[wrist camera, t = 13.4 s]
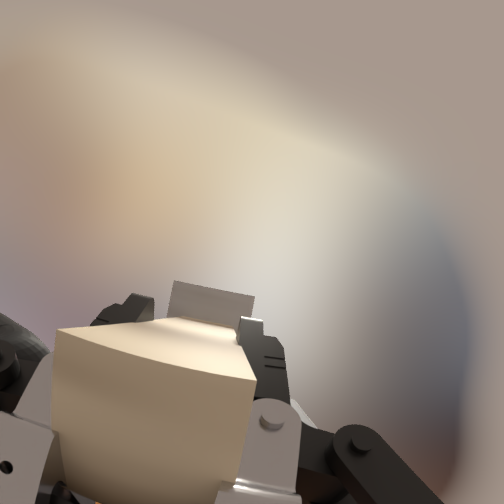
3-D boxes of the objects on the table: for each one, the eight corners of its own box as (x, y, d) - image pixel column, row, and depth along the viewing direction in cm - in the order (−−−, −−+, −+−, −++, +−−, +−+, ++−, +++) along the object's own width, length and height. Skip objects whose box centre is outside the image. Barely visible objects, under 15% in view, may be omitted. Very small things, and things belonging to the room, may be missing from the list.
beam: (282, 535, 3) (348, 249, 4) (14, 459, 3) (41, 192, 4) (236, 360, 23) (247, 299, 24) (175, 347, 22) (186, 287, 23)
